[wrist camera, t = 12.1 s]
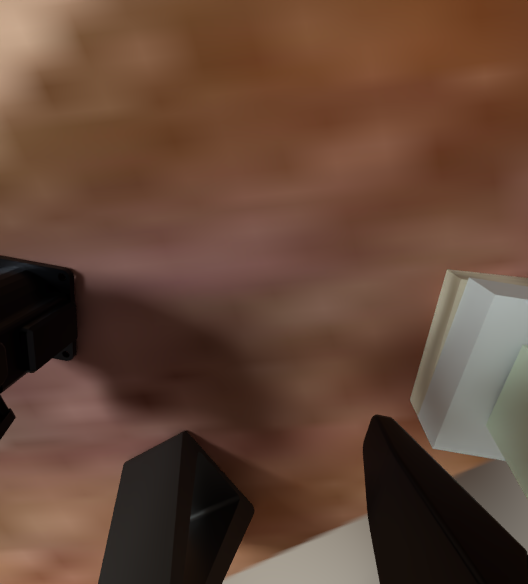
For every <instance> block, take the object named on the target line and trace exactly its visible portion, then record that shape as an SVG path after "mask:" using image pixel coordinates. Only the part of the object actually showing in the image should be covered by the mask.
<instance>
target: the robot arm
mask: <svg viewBox="0 0 528 584" xmlns="http://www.w3.org/2000/svg"><path fill="white" fill-rule="evenodd" d="M62 274H64V275H65V277H66V279H64V278H63V277H62ZM76 339H77V315H76V304H75V300H74V276H73V273H72V272H71V270H69V269H68V268H64V267H59V266H53V265H48V264H42V263H37V262H31V261H26V260H20V259H15V258H9V257H4V256H0V394H1V393H2V392H3V391H5V390H6V389H7V388H8V387H10V386H11V385H12V384H13V383H15V382H16V381H17V380H19V379H20V378H21V377H22V376H24V375H25V374H26V373H28V372H29V373H34V372H35V371H37V370H38V369H39V368H41V367H42V366H43V365H44V364H46V363H47V362H48V361H49V360H51V359H52V358H55V359H60V360H65V361H69V360H71V359H73V358H74V357H75V356H76V353H77V350H76ZM66 351H67V352H68V353H69V354H68V353H67V352H66ZM15 418H16V416H15V415H14V413H13V411H12V409H11V408H10V409H8V407H7V405H6V404H5V402H4V400H3V399H2V397H1V395H0V439H1V438H2V437H3V435H4V434H5V432H6V431H7V429H8V428H9V426H10V425H11V424H12V422H13V421H14V419H15ZM363 461H364V474H365V487H366V500H367V511H368V519H369V526H370V532H371V538H372V543H373V549H374V554H375V559H376V565H377V570H378V575H379V581H380V584H528V555H527V551H526V550H525V548H523V547H522V546H521V545H520V544H519V543H518V542H517V541H516V540H515V539H514V538H513V537H512V536H511V535H510V534H509V533H508V532H507V531H506V530H505V529H504V528H503V527H502V526H501V525H500V524H499V523H498V522H497V521H496V520H495V519H494V518H493V517H492V516H491V515H490V514H489V513H488V512H487V511H486V510H485V509H484V508H483V507H482V506H481V505H480V504H479V503H478V502H477V501H476V500H475V499H474V498H473V497H472V496H471V495H470V494H469V493H468V492H467V491H466V490H465V489H464V488H463V487H462V486H461V485H459V483H457V481H456V480H455V479H454V478H453V477H452V476H451V475H450V474H449V473H448V472H447V471H445V470H444V469H443V468H442V467H441V466H440V465H439V464H438V463H437V462H436V461H435V460H434V459H433V458H432V457H431V456H430V455H429V454H428V453H427V452H426V451H425V450H424V449H423V448H422V447H421V446H420V445H419V444H418V443H417V442H416V441H415V440H414V439H413V438H412V437H411V436H410V435H409V434H408V433H407V432H406V431H405V430H404V429H403V428H402V427H401V426H400V425H399V424H398V423H397V422H396V421H395V420H394V419H393V418H391V417H387V416H381V415H374V416H373V417H372V419H371V421H370V424H369V427H368V430H367V433H366V436H365V439H364V443H363Z"/></svg>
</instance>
